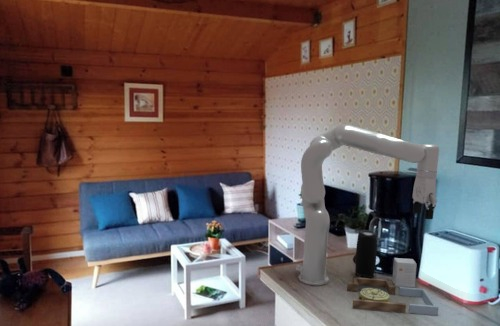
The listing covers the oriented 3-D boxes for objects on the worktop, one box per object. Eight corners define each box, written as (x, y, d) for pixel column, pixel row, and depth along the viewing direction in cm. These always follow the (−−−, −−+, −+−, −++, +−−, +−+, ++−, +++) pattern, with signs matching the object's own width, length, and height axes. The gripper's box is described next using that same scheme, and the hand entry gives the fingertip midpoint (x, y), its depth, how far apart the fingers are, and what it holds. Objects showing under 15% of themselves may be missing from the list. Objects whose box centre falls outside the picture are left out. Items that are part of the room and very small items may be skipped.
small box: (411, 282, 176) (413, 258, 175) (414, 288, 171) (417, 263, 169) (391, 281, 177) (393, 257, 176) (394, 286, 171) (397, 262, 170)
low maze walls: (353, 308, 150) (353, 300, 150) (345, 283, 172) (345, 276, 172) (405, 312, 148) (406, 304, 148) (391, 287, 170) (391, 280, 170)
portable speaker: (354, 278, 178) (357, 234, 176) (354, 270, 187) (357, 228, 185) (374, 280, 176) (378, 236, 174) (374, 273, 185) (377, 230, 183)
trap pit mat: (358, 290, 166) (358, 290, 166) (356, 285, 170) (356, 285, 170) (387, 293, 164) (387, 292, 164) (385, 288, 169) (385, 287, 169)
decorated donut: (376, 293, 164) (377, 284, 164) (394, 305, 154) (395, 295, 154) (354, 296, 160) (355, 287, 160) (371, 309, 150) (372, 299, 150)
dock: (409, 313, 148) (410, 305, 148) (398, 294, 164) (399, 286, 164) (437, 315, 147) (438, 307, 147) (423, 296, 163) (424, 288, 163)
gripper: (407, 171, 175) (403, 210, 177) (428, 177, 158) (424, 221, 160) (424, 171, 176) (420, 211, 178) (447, 178, 159) (442, 221, 161)
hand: (422, 215), depth 169 cm, fingers open, 9 cm apart
